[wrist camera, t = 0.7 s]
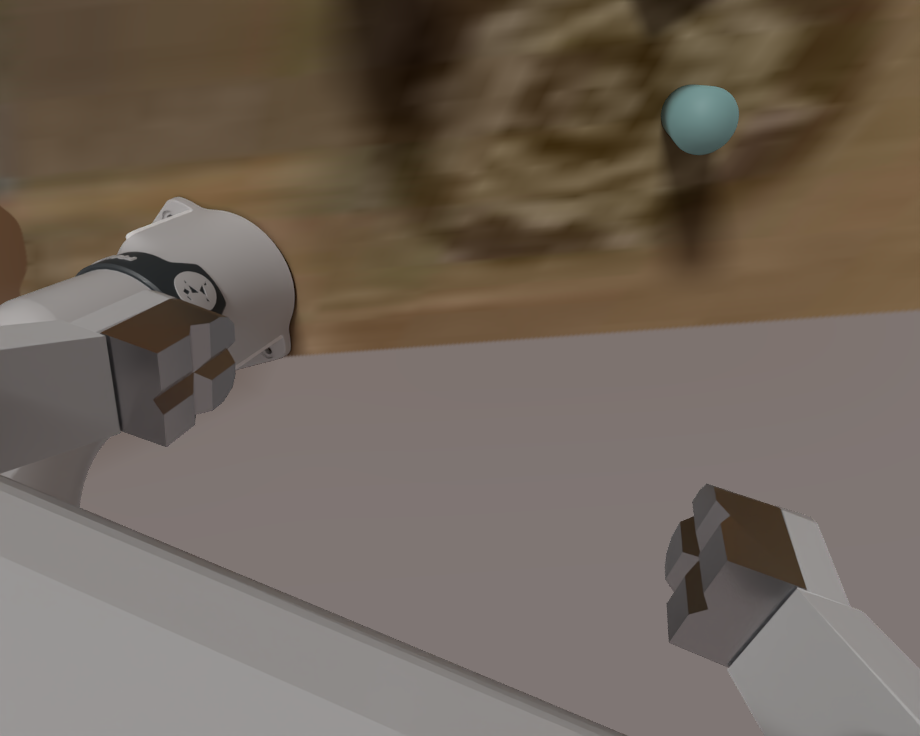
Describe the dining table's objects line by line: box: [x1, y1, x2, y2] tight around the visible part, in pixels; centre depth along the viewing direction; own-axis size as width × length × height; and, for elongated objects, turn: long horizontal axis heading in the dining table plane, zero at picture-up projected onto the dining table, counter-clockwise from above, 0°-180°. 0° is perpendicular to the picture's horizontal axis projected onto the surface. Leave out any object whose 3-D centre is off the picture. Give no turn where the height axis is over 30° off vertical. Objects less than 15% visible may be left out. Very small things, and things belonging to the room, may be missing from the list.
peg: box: [661, 85, 739, 155], centre depth 36 cm, size 4×4×10 cm
